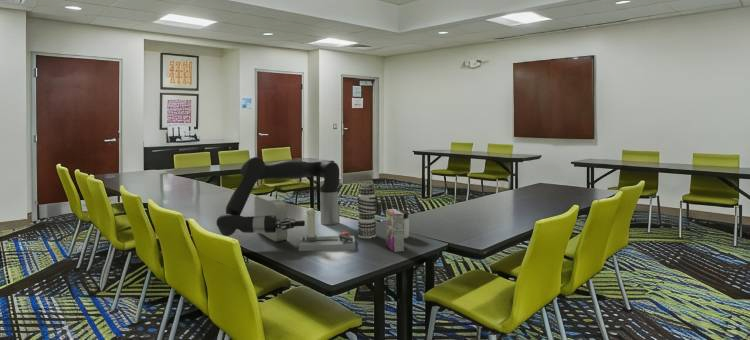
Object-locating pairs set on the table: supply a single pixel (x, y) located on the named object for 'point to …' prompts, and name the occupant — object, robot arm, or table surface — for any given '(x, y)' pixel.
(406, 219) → the jar
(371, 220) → the decorative candle
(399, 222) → the candy bar box
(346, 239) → the rocker
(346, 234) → the button
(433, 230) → the table surface
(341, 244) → the switch console
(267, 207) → the rounded white slab
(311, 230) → the slide lever
